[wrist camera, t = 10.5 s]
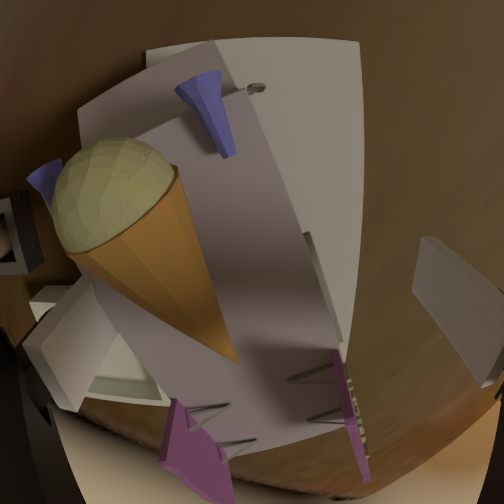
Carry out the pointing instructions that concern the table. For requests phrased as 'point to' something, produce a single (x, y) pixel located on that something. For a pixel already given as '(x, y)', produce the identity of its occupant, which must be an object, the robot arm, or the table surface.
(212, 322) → the toy vehicle
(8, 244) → the pin
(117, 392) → the tray
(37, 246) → the socket
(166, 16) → the table surface
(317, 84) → the mat
